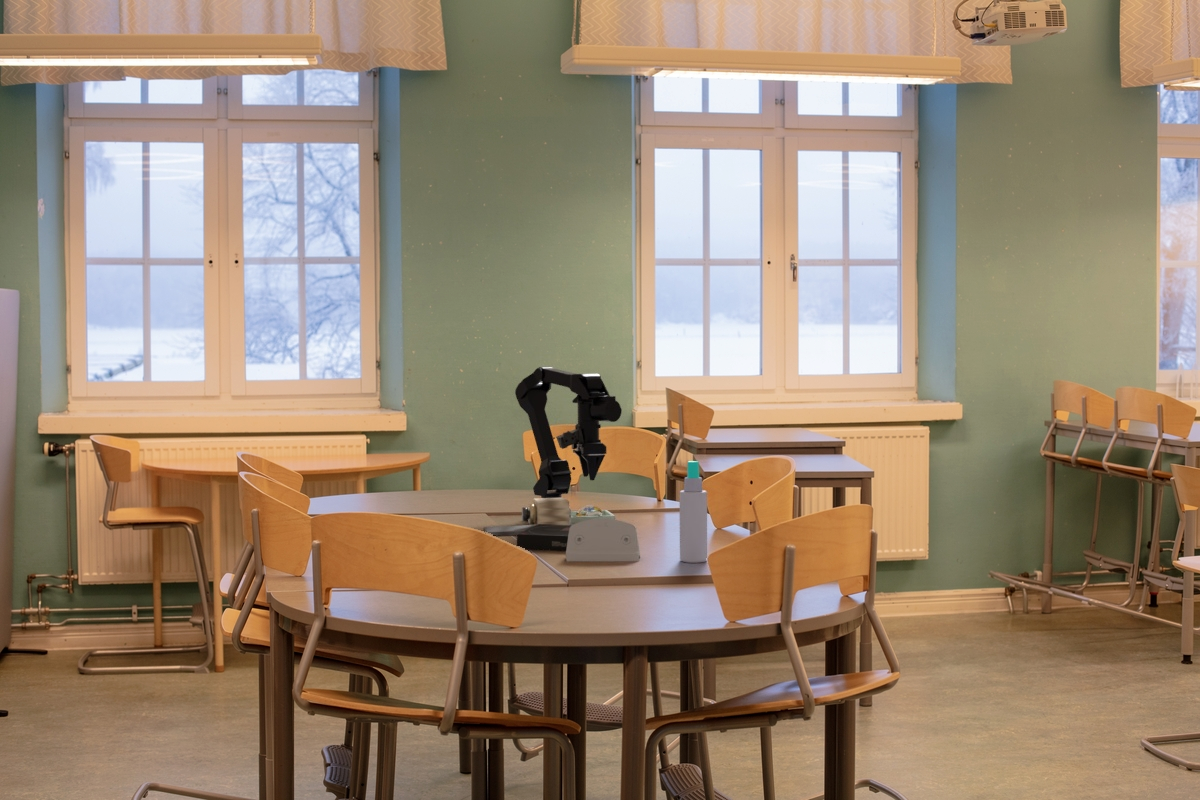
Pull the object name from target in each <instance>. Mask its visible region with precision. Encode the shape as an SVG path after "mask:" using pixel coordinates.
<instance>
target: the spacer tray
mask: <svg viewBox="0 0 1200 800" xmlns="http://www.w3.org/2000/svg"><path fill="white" fill-rule="evenodd" d="M601 510H602V516H598V515H599V514H594V515H591V516H586V515H584V516H581V517H576V512H577V511H578V510H571V517H570V518H569V524H573V523H579V522H582V521H586V520H592V519H614V520H616V515H615V514H613V513H612V512H610V511H609V510H607V509H601ZM593 512H598V511H597V510H594V511H591V513H593ZM583 513H586V512H583V511H582V512H580V513H579V514H583ZM587 514H590V513H587Z"/></svg>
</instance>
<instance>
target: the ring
mask: <svg viewBox="0 0 1200 800" xmlns="http://www.w3.org/2000/svg"><path fill="white" fill-rule="evenodd" d="M594 510H597V511H598V512H593V513H591V511H594ZM602 510H603V509H601V508H600V507H598V506H595V505H593V504H592V503H590V504H587V505H584V506H582V507H581V508H579V509H578V510H576V511H577V512H576V517H581V516H584V515H586V516H591V515H594V514H599V515H598V516H602ZM582 511H583V512H586V513H583V514H579V513H580V512H582ZM587 513H590V514H587Z"/></svg>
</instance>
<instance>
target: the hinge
mask: <svg viewBox="0 0 1200 800" xmlns="http://www.w3.org/2000/svg"><path fill="white" fill-rule="evenodd" d="M637 529H638V528H637V527H636V526H635V524H632V523H630V522H627V521H624V520H620V519H619V520H618V519H615V520H614V519H592V520H586V521H582V522H579V523H576V524H573V525H572V526H571V527H570V529H569V535H568V542H567V549H566V551H565V558H566V559H565V562H639V561H640V558H641V552H640V551H641V550H640V546H639V545H640V543H639V537H638V531H637Z"/></svg>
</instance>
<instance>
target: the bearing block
mask: <svg viewBox="0 0 1200 800" xmlns="http://www.w3.org/2000/svg"><path fill="white" fill-rule="evenodd" d="M533 504H535V506H536V509H537V519H536V524H529V525H528V524H526V525H525V524H524V525H500V526H499V525H498V526H483V531H486V532H488V533H491V534H493V535H496V536H495V537H499V536H498V535H501V536H500V537H502V536H503V537H504V536H505V537H506V536H517V534H519V533H521V532H523V531H525V530H527V529H529V528H531V527H533V526H536V525H538V524H552V525H573V524H576V523H573V524H569V508H570V501H569V500H568V499H566V498H565V497H562V498H541V497H540V498H538V497H537V498H535V497H534V498H533Z"/></svg>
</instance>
